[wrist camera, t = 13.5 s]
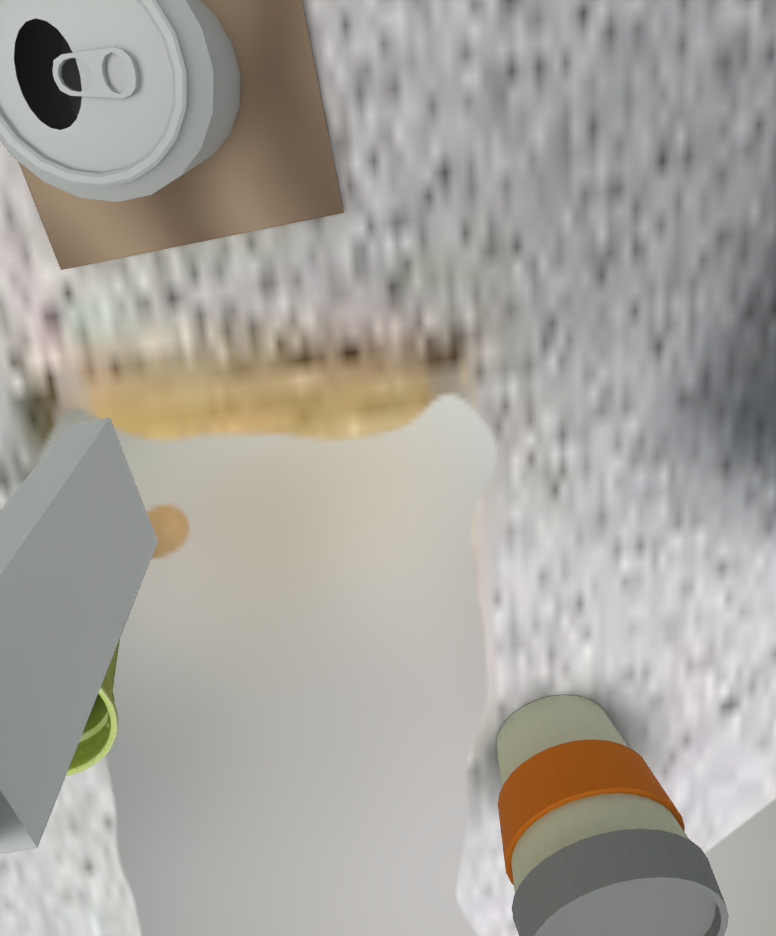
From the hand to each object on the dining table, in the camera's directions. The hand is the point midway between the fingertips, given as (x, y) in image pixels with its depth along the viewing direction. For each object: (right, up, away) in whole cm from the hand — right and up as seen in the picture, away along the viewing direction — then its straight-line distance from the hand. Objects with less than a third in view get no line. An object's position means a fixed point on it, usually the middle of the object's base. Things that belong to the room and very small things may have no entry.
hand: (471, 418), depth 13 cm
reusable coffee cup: (+11, -22, +42) cm, 49 cm away
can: (-12, +16, +18) cm, 27 cm away
